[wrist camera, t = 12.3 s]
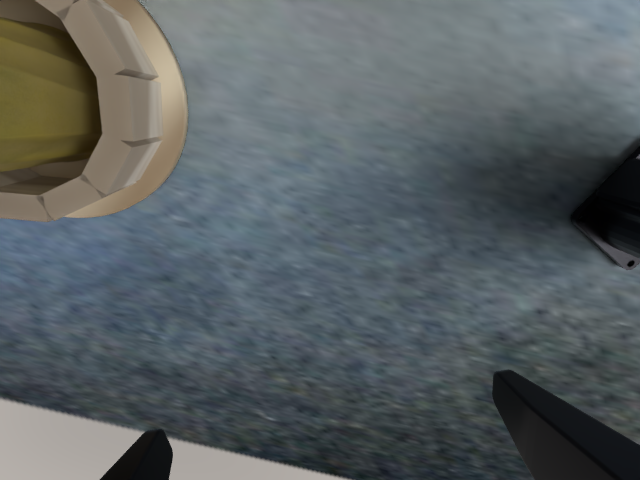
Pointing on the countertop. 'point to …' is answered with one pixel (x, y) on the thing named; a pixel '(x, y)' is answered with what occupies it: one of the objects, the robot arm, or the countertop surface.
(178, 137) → the collar stand
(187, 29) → the countertop surface
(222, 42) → the countertop surface
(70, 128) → the vase
